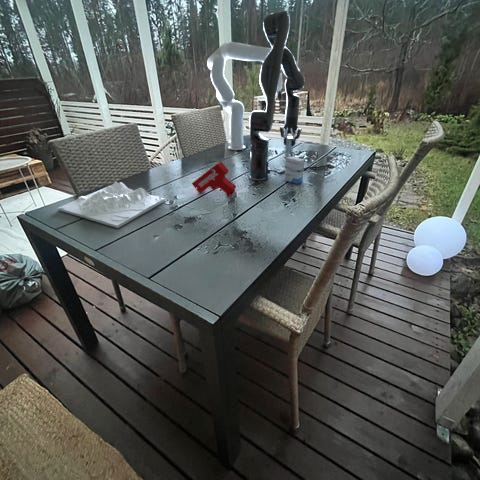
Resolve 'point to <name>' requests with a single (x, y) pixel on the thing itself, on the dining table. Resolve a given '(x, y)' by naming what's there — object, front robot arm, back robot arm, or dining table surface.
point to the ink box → (294, 170)
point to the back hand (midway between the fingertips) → (274, 99)
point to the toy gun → (215, 180)
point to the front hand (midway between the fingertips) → (289, 145)
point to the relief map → (113, 205)
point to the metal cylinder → (288, 145)
